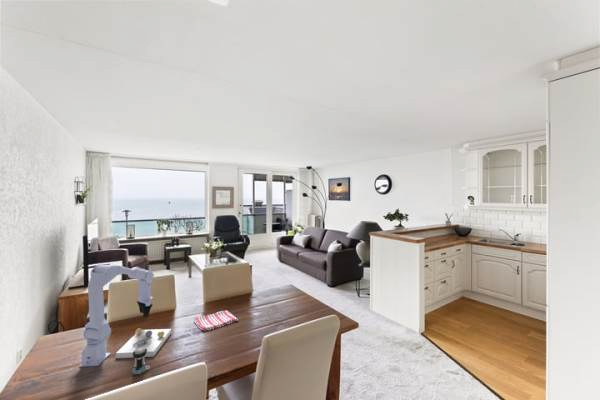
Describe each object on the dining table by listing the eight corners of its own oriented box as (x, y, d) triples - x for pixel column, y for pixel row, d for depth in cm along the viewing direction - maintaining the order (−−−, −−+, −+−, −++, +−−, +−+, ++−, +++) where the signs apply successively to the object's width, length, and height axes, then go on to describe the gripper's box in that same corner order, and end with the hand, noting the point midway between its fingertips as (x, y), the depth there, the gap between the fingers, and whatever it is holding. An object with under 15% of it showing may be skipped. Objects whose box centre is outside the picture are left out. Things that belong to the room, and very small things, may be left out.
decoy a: (140, 335, 136) (140, 329, 136) (134, 336, 136) (134, 330, 136) (143, 332, 139) (143, 327, 139) (137, 333, 139) (137, 327, 139)
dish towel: (192, 322, 159) (193, 316, 159) (227, 312, 174) (227, 307, 174) (202, 333, 146) (202, 327, 146) (239, 322, 161) (239, 316, 161)
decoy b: (162, 338, 134) (162, 332, 134) (156, 339, 133) (156, 333, 133) (165, 335, 137) (165, 329, 137) (158, 335, 136) (159, 329, 136)
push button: (149, 366, 115) (150, 344, 115) (149, 372, 111) (150, 350, 111) (132, 370, 112) (133, 347, 112) (131, 377, 107) (132, 354, 108)
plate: (153, 356, 122) (153, 351, 122) (115, 358, 120) (116, 353, 120) (171, 333, 144) (171, 328, 144) (139, 334, 142) (139, 329, 142)
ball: (150, 338, 134) (150, 332, 134) (144, 338, 133) (144, 332, 133) (153, 335, 137) (153, 329, 137) (147, 335, 137) (147, 329, 137)
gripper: (156, 292, 143) (155, 316, 143) (149, 286, 154) (148, 308, 153) (142, 295, 138) (141, 320, 138) (135, 289, 149) (135, 312, 148)
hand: (144, 314), depth 145 cm, fingers open, 7 cm apart
